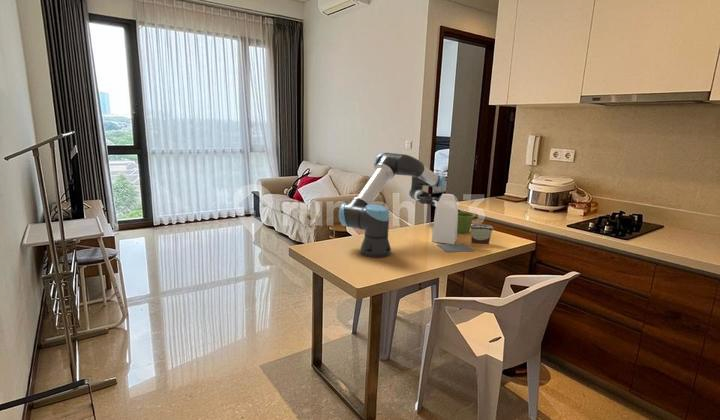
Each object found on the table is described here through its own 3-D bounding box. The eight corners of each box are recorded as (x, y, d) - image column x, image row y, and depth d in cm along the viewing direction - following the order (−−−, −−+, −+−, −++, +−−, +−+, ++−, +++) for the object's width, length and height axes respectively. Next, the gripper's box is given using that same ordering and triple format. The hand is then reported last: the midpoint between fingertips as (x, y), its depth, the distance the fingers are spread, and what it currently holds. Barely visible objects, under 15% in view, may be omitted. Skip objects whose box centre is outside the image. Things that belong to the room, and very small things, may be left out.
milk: (456, 239, 217) (460, 193, 211) (453, 244, 206) (457, 196, 201) (435, 236, 221) (438, 191, 216) (431, 241, 211) (434, 194, 205)
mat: (446, 252, 194) (446, 251, 194) (436, 245, 205) (436, 244, 205) (474, 250, 198) (474, 250, 198) (463, 243, 209) (463, 243, 209)
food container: (489, 241, 215) (490, 224, 213) (491, 244, 209) (493, 227, 207) (466, 240, 216) (468, 223, 214) (468, 243, 210) (470, 225, 208)
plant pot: (449, 230, 236) (451, 212, 233) (466, 229, 239) (468, 211, 236) (458, 235, 224) (460, 216, 222) (476, 234, 227) (478, 216, 225)
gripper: (431, 202, 245) (448, 210, 223) (412, 202, 242) (427, 211, 220) (432, 190, 243) (449, 198, 221) (413, 191, 240) (428, 198, 218)
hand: (438, 204), depth 220 cm, fingers closed
